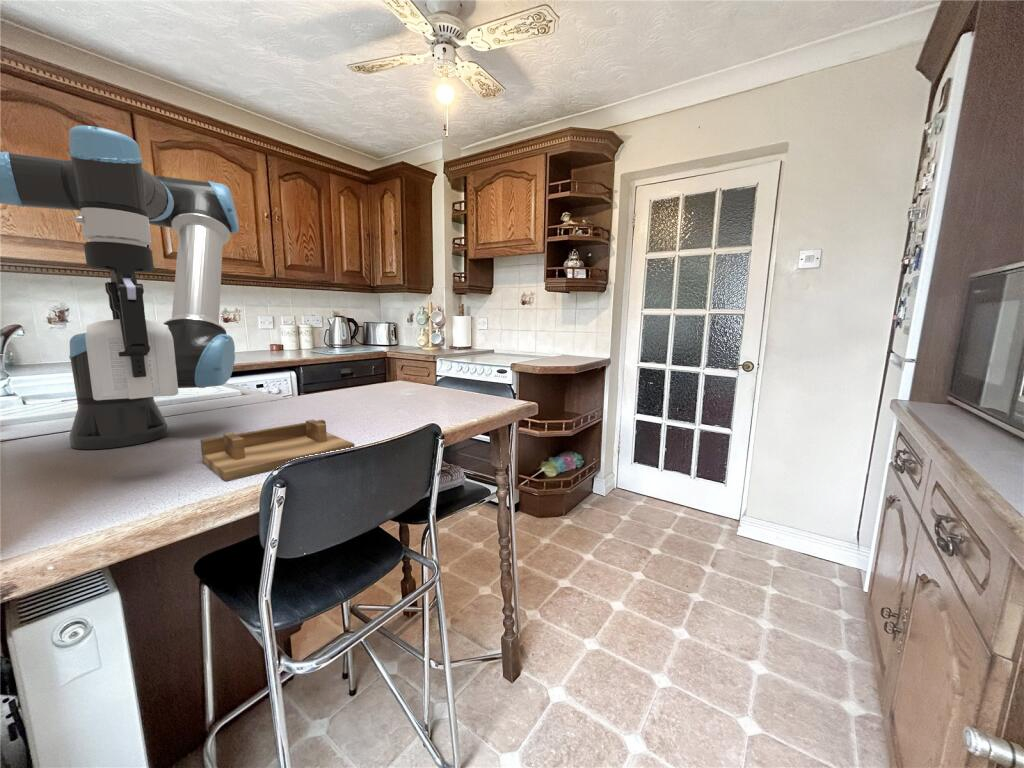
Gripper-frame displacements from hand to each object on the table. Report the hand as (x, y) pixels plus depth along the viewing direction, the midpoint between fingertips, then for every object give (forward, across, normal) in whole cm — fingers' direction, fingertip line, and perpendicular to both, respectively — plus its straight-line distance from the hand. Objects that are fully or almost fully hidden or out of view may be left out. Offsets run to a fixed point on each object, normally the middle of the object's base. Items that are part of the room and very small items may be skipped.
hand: (138, 394), depth 66 cm
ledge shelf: (+14, +5, +19) cm, 24 cm away
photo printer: (+1, 0, 0) cm, 1 cm away
